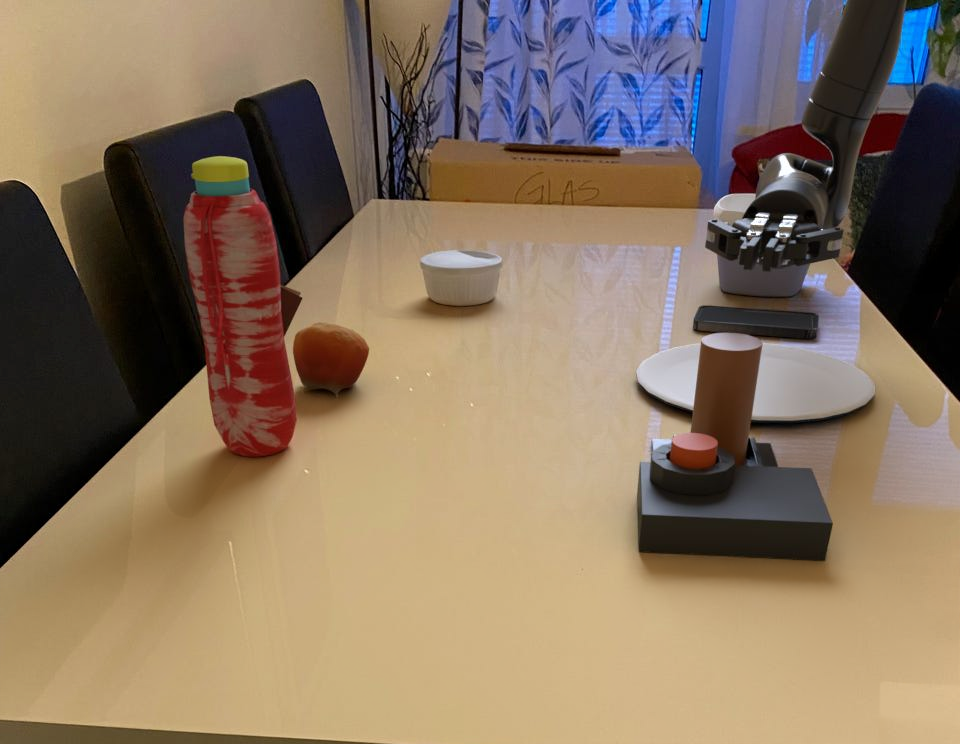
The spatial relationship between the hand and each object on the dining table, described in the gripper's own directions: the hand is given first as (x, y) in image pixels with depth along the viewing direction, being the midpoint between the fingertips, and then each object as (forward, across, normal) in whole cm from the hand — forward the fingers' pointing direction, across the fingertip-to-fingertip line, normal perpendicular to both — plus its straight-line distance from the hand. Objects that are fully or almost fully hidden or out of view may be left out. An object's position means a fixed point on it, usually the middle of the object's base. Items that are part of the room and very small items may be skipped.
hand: (758, 259), depth 87 cm
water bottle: (+18, -42, +16) cm, 48 cm away
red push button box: (+21, +3, +16) cm, 26 cm away
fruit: (+2, -43, +16) cm, 46 cm away
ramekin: (-36, -44, +16) cm, 59 cm away
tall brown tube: (+10, 0, +15) cm, 18 cm away
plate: (-13, 0, +16) cm, 21 cm away
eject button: (+19, -1, +11) cm, 23 cm away
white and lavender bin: (-56, -6, +16) cm, 58 cm away
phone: (-36, -4, +16) cm, 40 cm away
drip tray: (+10, 0, +16) cm, 19 cm away
